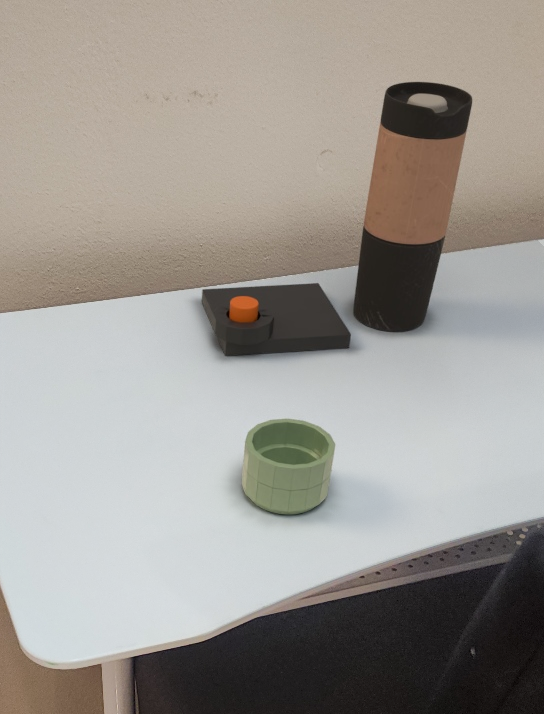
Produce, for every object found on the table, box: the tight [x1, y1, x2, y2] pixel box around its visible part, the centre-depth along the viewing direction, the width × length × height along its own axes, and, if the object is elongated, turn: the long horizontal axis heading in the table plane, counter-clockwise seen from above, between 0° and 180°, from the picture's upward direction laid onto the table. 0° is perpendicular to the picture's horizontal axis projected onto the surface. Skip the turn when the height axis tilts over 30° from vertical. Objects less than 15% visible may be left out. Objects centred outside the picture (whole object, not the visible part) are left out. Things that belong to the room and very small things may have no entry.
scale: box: [201, 282, 352, 357], centre depth 96 cm, size 13×12×3 cm
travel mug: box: [352, 81, 473, 333], centre depth 92 cm, size 8×8×20 cm
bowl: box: [241, 418, 336, 515], centre depth 75 cm, size 7×7×4 cm
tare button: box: [229, 296, 259, 323], centre depth 91 cm, size 3×3×2 cm
